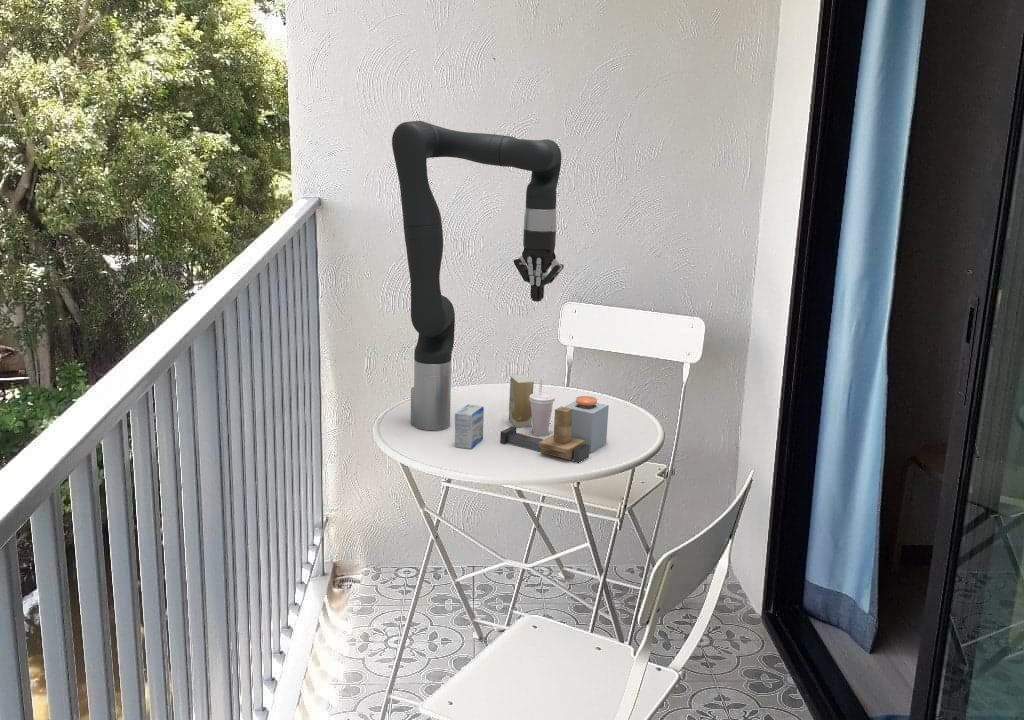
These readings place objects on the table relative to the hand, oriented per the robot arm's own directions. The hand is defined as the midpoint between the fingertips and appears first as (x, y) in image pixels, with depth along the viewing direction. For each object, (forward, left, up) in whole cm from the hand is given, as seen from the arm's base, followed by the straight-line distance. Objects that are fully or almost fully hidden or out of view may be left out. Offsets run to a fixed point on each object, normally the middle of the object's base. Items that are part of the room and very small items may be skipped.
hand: (536, 300), depth 237 cm
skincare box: (-9, +9, -35) cm, 37 cm away
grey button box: (+12, +5, -35) cm, 37 cm away
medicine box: (-11, -11, -35) cm, 39 cm away
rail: (+6, -4, -35) cm, 36 cm away
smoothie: (-1, +6, -35) cm, 36 cm away
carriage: (+11, -4, -35) cm, 37 cm away
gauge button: (+12, +5, -30) cm, 33 cm away
